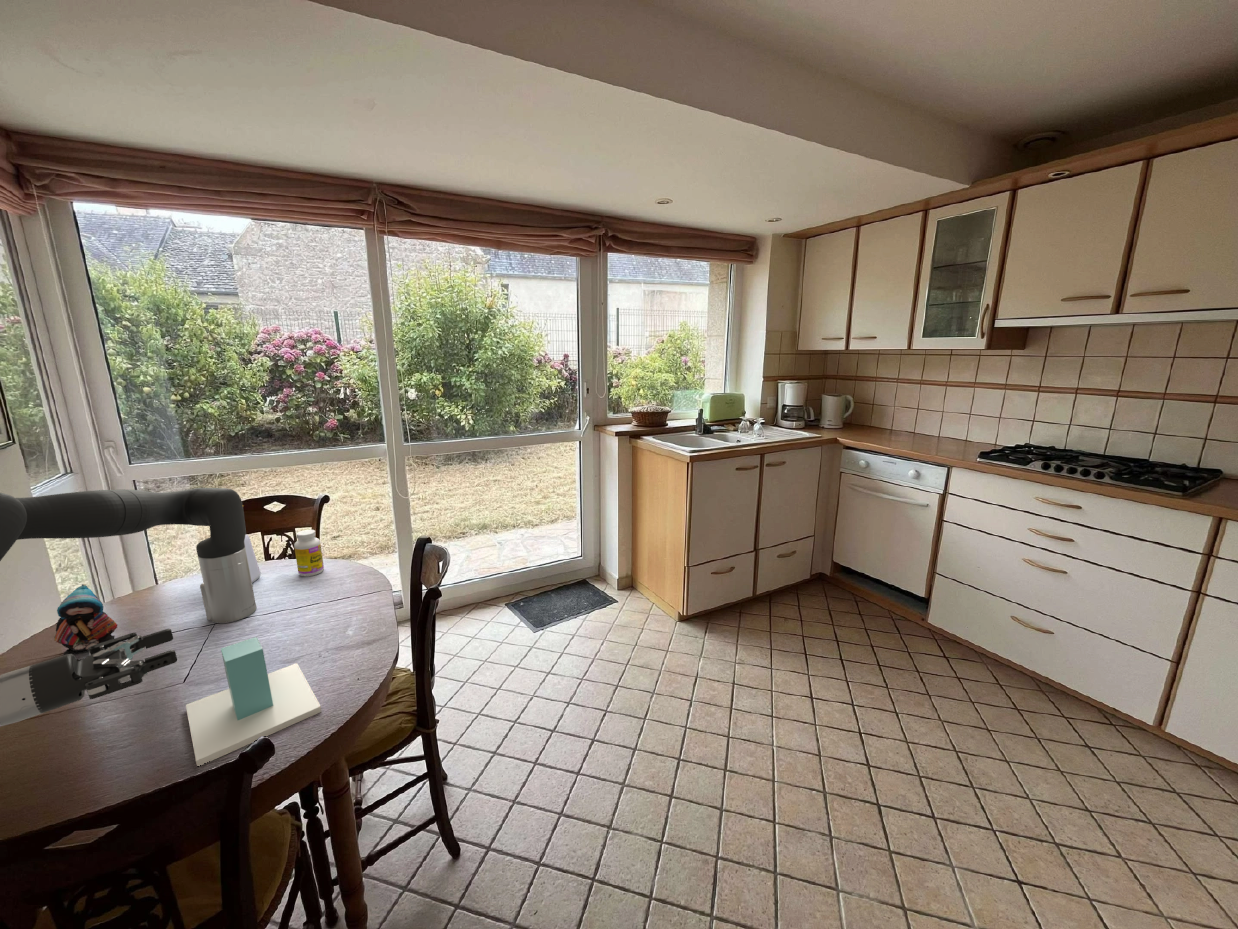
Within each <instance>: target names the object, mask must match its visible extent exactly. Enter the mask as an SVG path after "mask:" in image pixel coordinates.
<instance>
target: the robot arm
mask: <svg viewBox="0 0 1238 929" xmlns="http://www.w3.org/2000/svg"><path fill="white" fill-rule="evenodd" d="M245 519H246V518H245V512H244V504H243V501H242V498H241V496H240V495H239V493H238V492H237V491H236V490H234V489H232V488H225V487H196V488H190V489H189V488H188V489H182V490H174V491H166V492H164V491H163V492H157V491H156V492H155V491H148V490H143V489H142V490H140V489H139V490H138V489H99V490H98V489H97V490H86V491H85V490H84V491H75V492H74V491H73V492H65V493H57V494H48V495H47V494H46V495H39V496H30V497H29V496H28V497H14V496H13V495H10V494H8V493H4V492H0V562H1V561H2V560H3V558H4V557H5V556H6V554H8V552H9V551H10V549H11V548H12V547H13V546H14V545H15V543H16V542H17V541H18V540H30V539H31V540H32V539H36V540H37V539H92V538H94V539H95V538H97V539H98V538H108V537H117V536H126V535H131V534H137V533H141V532H143V531H146V530H149V529H152V528H154V527H157V526H164V525H179V526H180V525H187V526H188V525H189V526H197V527H198V526H199V527H209V534H210V535H209V537H207V538H205V539H203V540H201V541H199V542H198V543H197V544H196V547H195V550H196V554H197V559H198V563H199V564H198V565H199V568H200V572H201V577H202V583H201V584H200V585H199V587H200V588H199V589H200V592H201V596H202V597H201V598H202V602H203V605H204V611H205V616H206V620H208V621H211V622H212V623H215V624H226V623H227V624H228V623H233V622H236V621H240V620H242V619H246V618H247V617H249V616H251V615H252V614H254V612H256V610H257V603H256V599H255V598H256V597H255V592H254V588H253V583H252V581H251V576H250V570H249V565H248V560H247V555H246V549H245V544H244V540H245V535H247V530H246V521H245ZM173 640H174V636H173V631H172V629H170V628H166V629H163V630H159V631H155V632H153V633H149V634H146V635H144V636H142V635H141V634H140V635H138V634H137V632H130V633H128V634H124V635H121V636H118V637H114V639H112V640H109V641H105V642H102V643H99V644H96V645H93V646H90V647H89V648H88V650H89V651H88V653H89V655H88V656H86V657H84V658H81V659H78V658H77V657H76V655H75V654H67V655H64V654H63V655H61V656H60V655H59V656H57V657H54V658H51V659H47V660H43V661H41V662H38V663H33V664H31V665H28V666H25V667H22V668H18V669H15V670H12V671H11V670H10V671H8V672H5V673H2V674H0V728H1V727H4V726H9V725H12V724H15V723H19V722H21V721H24V720H28V719H31V718H33V717H36V716H38V715H42V714H44V713H47V712H50V711H54V710H56V709H58V708H61V707H64V706H67V705H70V704H73V703H76V702H78V701H81V700H83V698H84V697H85V695H86V694H85V691H86V692H87V696H88V698H89V700H94V699H97V698H101V697H104V696H106V695H110V694H113V693H115V692H118V691H121V690H123V689H128V688H130V687H134V686H136V685H139V684H141V683H142V682H143V677H146V676H147V675H148V673H150V672H153V671H156V670H158V669H162V668H165V667H167V666H170V665H173V664H176V663H177V661H178V656H177V653H176V650H174V649H170V650H166V651H165V652H161V653H158V654H155V655H152V656H148V657H145V658H144V659H139V660H138V659H137V660H135V659H134V660H132V659H133V657H134V656H135V655H136V654H138V653H140V652H142V651H143V650H145V649H146V650H147V649H150V648H153V647H157V646H159V645H163V644H166V643H169V642H172V641H173ZM129 679H130V680H129Z"/></svg>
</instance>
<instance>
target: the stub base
mask: <svg viewBox="0 0 1238 929" xmlns="http://www.w3.org/2000/svg"><path fill="white" fill-rule="evenodd" d="M267 674H268V679H269V685H270V690H271V695H272V701H273V706H271V707H269V708H267V709H264V710H262V711H259V712H257V713H255V714H252V715H250V716H247V717H245V718H243V719H240V720H237V717H236V714H235V711H234V708H233V704H232V700H231V695H230V690H229V688H227V689H224V690H222V691H219V692H216V693H214V694H211V695H208V696H205V697H203V698H201V699H200V698H199V699H198V700H195V701H192V702H190V703H187V704H185V710H186V714H187V719H188V723H189V724H188V725H189V730H190V735H191V741H192V746H193V753H194V758H195V759H194V760H195V763H196V767H197V766H199V767H200V765H201V766H203V765H205V764H204V763H206V764H208V763H210V762H212V761H215V760H216V759H218V758H221V757H224V756H225V755H228V754H229V753H233V752H234V751H236V750H239V749H241V748H243V747H246V746H249V745H250V744H253V743H255V742H256V741H255V740H257V739H258V738H259V737H261V736H266V737H268V736H270V735H272V734H275V733H277V732H279V731H281V730H284V729H286V728H288V727H291V726H292V725H295V724H297V723H299V722H301V721H304V720H306V719H309V718H311V717H313V716H315V715H317V714H320V713H322V711H323V710H322V707H321V704H320V702H319V700H318V699H317V697H316V695H315V694H314V692H313V689H312V687H311V686H310V684H309V682H308V681H307V679H306V676H305V675H304V673H303V671H302V670H301V668H300V666H299V664H298V662H296V663H293V664H290V665H288V666H285V667H283V668H279V669H277V670H275V671H272V672H269V673H267ZM254 741H255V742H254ZM257 741H258V740H257ZM252 742H253V743H252ZM209 761H210V762H209ZM207 762H208V763H207Z"/></svg>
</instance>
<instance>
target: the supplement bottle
mask: <svg viewBox="0 0 1238 929" xmlns="http://www.w3.org/2000/svg"><path fill="white" fill-rule="evenodd" d="M296 538H297V540H296V542H294V544H293V546H294V553H295V559H296V560H295V561H296V566H297V568H296V569H297V573H298V575H299V576H301V577H314V576H317V575H319V574H320V573H322V572H323V571H324V569H325V566H324V559H323V552H322V545H321V544H322V543H321V540H320V539H319V538H317V537H316V530H314V529H305V530H300V531H298V532H297V533H296Z"/></svg>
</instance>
